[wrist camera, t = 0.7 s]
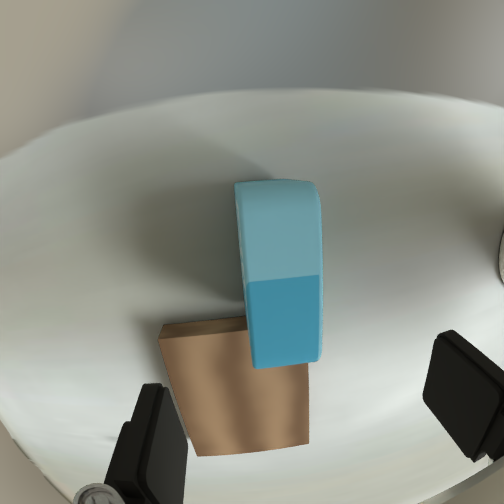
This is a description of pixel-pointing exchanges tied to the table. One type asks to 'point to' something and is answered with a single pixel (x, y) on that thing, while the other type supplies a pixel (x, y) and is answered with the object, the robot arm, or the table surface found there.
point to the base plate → (233, 390)
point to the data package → (281, 270)
